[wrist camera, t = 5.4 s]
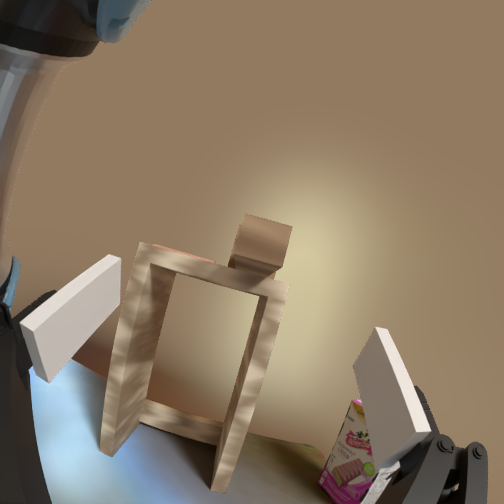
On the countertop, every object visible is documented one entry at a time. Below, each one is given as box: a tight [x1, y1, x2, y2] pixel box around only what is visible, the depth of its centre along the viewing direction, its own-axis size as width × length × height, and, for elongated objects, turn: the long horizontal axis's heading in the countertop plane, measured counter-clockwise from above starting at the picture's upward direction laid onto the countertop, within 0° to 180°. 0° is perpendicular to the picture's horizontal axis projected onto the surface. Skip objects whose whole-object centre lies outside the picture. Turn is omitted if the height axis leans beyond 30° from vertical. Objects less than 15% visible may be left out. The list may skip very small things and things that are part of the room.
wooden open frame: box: [100, 242, 290, 493], centre depth 36 cm, size 18×14×30 cm
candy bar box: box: [317, 399, 400, 504], centre depth 29 cm, size 11×5×16 cm, turn 16°
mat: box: [153, 244, 216, 264], centre depth 38 cm, size 8×10×1 cm
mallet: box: [228, 214, 292, 280], centre depth 32 cm, size 24×6×6 cm, turn 3°
